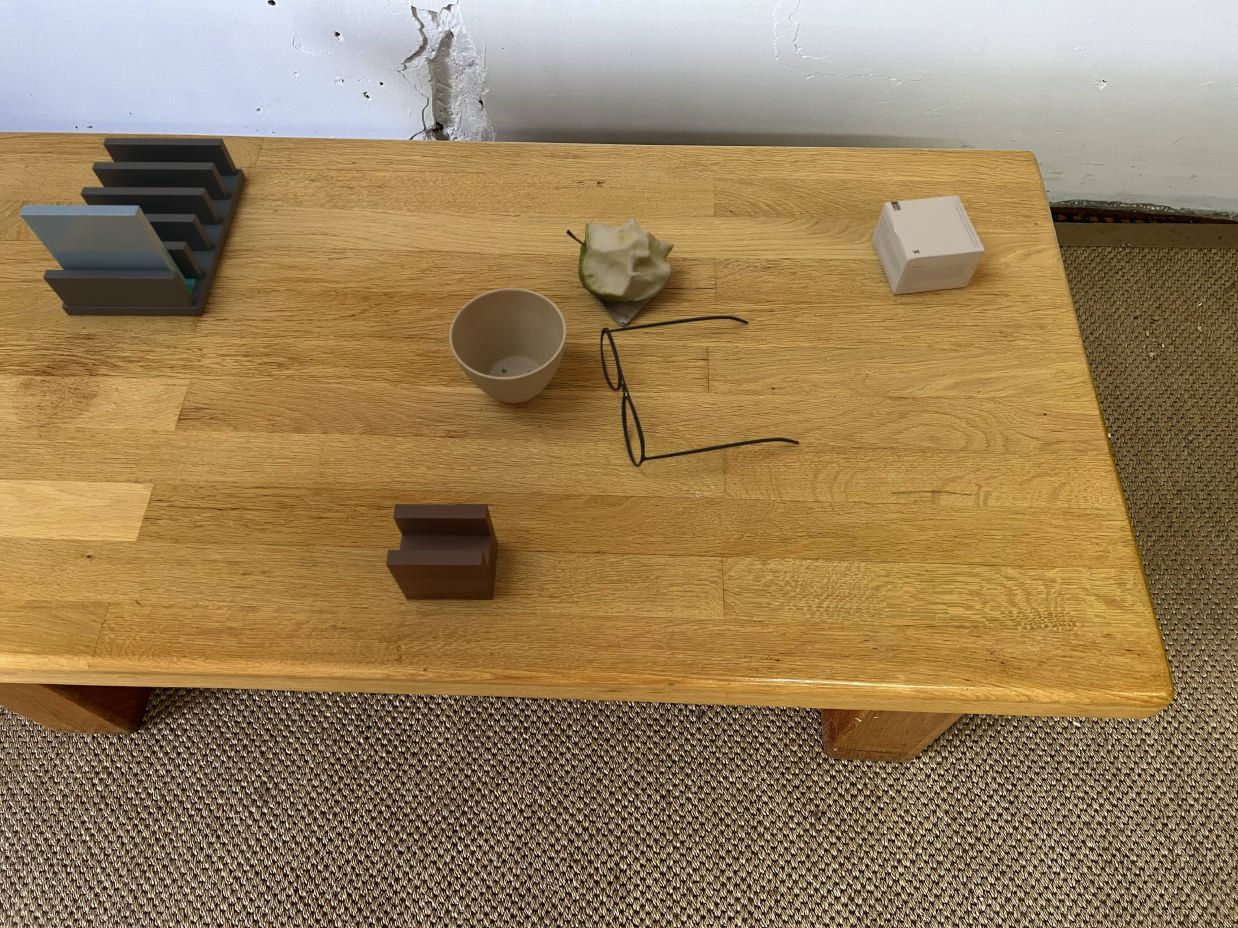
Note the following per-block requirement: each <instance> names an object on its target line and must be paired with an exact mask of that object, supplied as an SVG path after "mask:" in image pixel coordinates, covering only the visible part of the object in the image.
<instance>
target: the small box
mask: <svg viewBox="0 0 1238 928" xmlns="http://www.w3.org/2000/svg"><path fill="white" fill-rule="evenodd" d="M871 241H872V243H873V246H874V248H875V252H876V253H877V256H878V259H879V261H880V263H881V266H882V269H883V271H884V274H885V277H886V279H887V281H888V284H889V286H890V289H891V291H892V294H893V295H904V294H913V293H914V294H915V293H922V292H931V291H940V290H951V289H960V288H961V289H962V288H965V287H967V286H968V285H969V282H970V281H971V278H972V277H973V275H974V273H975V271H976V269H977V267H978V265H979V263H980V261H981V259H982V257H983V255H984V253H985V251H986V248H985V246H984V245H983V242H982V241H981V239H980V237H979V235H978V232H977V230H976V229H975V227H974V225H973V223H972V221H971V218H970V217H969V214H968V213H967V211H966V209H965V207H964V204H963V202H962V201H961V199H960V196H959V195H957V194H956V195H945V196H935V197H928V198H927V197H926V198H917V199H915V198H914V199H905V200H895V201H894V200H893V201H887V202H884V204H883V206H882V210H881V212H880V215H879V218H878V220H877V224H876V227H875V230H874V232H873V235H872V238H871Z"/></svg>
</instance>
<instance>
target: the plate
mask: <svg viewBox="0 0 1238 928" xmlns="http://www.w3.org/2000/svg"><path fill="white" fill-rule="evenodd" d="M19 215H20V217H21V218H22V219H23V221H24V222H25V223H26V224H27V226H28V227H29V229H31V231H32V232H33V233H34V235H35V236H36V237H37V238H38V239H39V240H40V242H41V243H42V245H43V246H44V247H45V249H46V250H47V251H48V252H49V253H50V254H51V256H52V257H53V259H54V260H55V261H56V263H58V265H59V266H60V267H61V268H62V270H163V271H177V273H178V274H179V276H180V277H181V279H182V281H183V282H184V284H185V285H186V287H187V285H188V283H187V281H186V280H185V278H184V276H183V275H182V273H181V272H180V270H179V269H178V267H177V265H176V264H175V262H174V261H173V259H172V257H171V256H170V254H169V253H168V251H167V249H166V248H165V246H164V245H163V243H162V242H161V240H160V238H159V237H158V235H157V234H156V232H155V230H154V229H153V227H152V226H151V224H150V222H149V221H148V219H147V218H146V216H145V215H144V213H143V211H142V210H141V208H140V207H139V206H111V205H88V204H79V205H77V204H76V205H75V204H24V205H23V208H22V209H21V211H20V213H19Z"/></svg>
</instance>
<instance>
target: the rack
mask: <svg viewBox="0 0 1238 928" xmlns="http://www.w3.org/2000/svg"><path fill="white" fill-rule="evenodd" d="M102 145H103V147H104V149H105V150H106V152H107V153H108V154H109V156H110V158H111V160H112V161H94V162H93V164H92V167H91V170H92V171H93V173H94V174H95V176H96V177H97V179H98V180H99V182H100V183H101V185H102V186H83V187H82V189H81V191H80V196H81V197H82V199H83V200H84V202H85V203H86V205H111V206H139V207H140V208H141V210H142V211H143V213H144V215H145V216H146V218H147V219H148V221H149V222H150V224H151V226H152V227H153V229H154V230H155V232H156V234H157V235H158V237H159V238H160V240H161V242H162V243H163V245H164V246H165V248H166V249H167V251H168V253H169V254H170V256H171V257H172V259H173V261H174V262H175V264H176V265H177V267H178V269H179V270H180V272H181V273H182V275H183V276H184V278H185V280H186V281H187V283H188V285H187V287H186V285H185V284H184V282H183V281H182V279H181V277H180V276H179V274H178V273H177V271H163V270H63V269H46V270H45V272H44V274H43V277H42V279H43V280H44V281H45V283H46V284H48V286H49V287H50V289H52V291H53V292H54V293H55V294H56V295H57V297H58V298H59V299H60V300H61V301H62V305H61V309H62V310H63V311H64V312H65V313H66V315H67V316H151V317H152V316H154V317H155V316H157V317H158V316H164V317H165V316H167V317H168V316H170V317H173V316H175V317H186V316H187V317H202V316H203V314H204V310H205V308H206V304H207V301H208V298H209V294H210V291H211V288H212V285H213V282H214V279H215V276H216V273H217V269H218V267H219V263H220V261H221V257H222V253H223V250H224V248H225V244H226V241H227V238H228V235H229V232H230V229H231V225H232V223H233V219H234V216H235V213H236V210H237V206H238V204H239V200H240V198H241V194H242V192H243V188H244V185H245V181H246V178H247V177H246V174H245V173H244V170H243V169H242V168H237V166H236V164H235V162H234V160H233V158H232V156H231V154H230V152H229V150H228V148H227V146H226V143H225V141H224V139H223V138H219V137H218V138H215V137H214V138H213V137H212V138H211V137H209V138H206V137H203V138H202V137H105V138H104V140H103V142H102Z"/></svg>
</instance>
